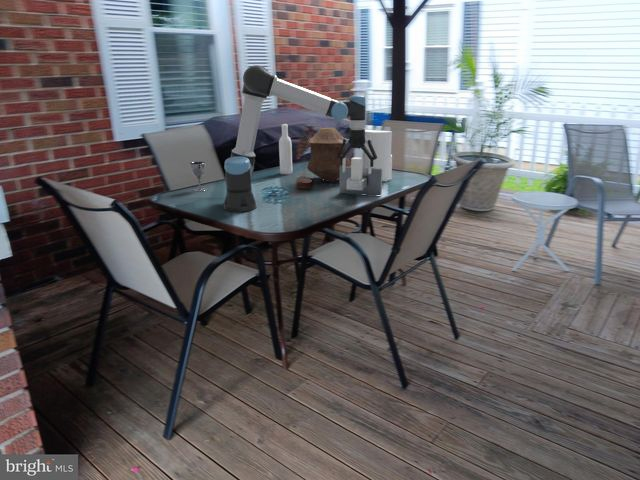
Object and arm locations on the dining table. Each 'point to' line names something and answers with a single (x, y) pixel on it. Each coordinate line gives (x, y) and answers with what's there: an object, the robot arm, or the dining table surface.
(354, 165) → the rail post
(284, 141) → the bottle
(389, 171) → the cylinder
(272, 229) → the dining table surface
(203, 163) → the wine glass
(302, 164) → the dining table surface
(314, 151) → the pottery vessel
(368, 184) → the grey block
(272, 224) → the dining table surface
